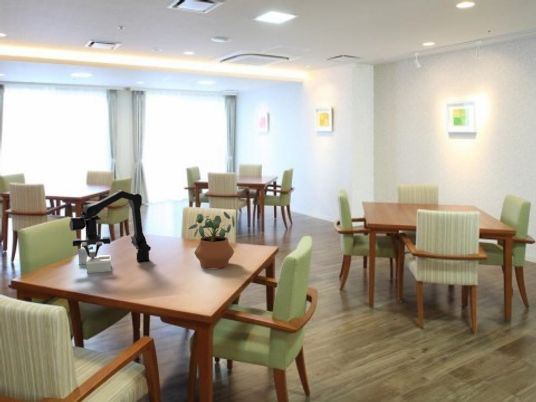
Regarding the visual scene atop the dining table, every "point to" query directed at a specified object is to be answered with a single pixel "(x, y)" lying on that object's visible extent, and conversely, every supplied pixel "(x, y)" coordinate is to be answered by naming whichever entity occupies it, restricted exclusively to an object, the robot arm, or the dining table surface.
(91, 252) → the peg
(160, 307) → the dining table surface
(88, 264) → the keyhole plate
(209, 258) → the potted plant
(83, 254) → the medicine box
